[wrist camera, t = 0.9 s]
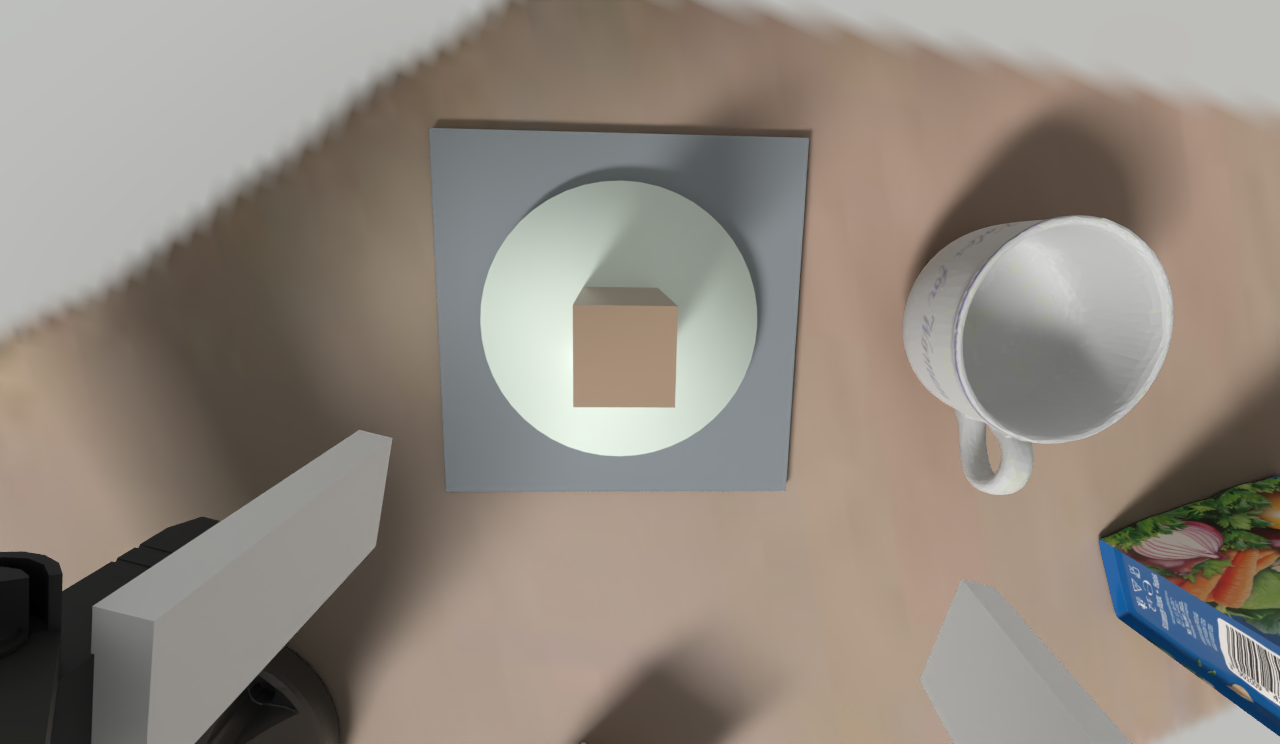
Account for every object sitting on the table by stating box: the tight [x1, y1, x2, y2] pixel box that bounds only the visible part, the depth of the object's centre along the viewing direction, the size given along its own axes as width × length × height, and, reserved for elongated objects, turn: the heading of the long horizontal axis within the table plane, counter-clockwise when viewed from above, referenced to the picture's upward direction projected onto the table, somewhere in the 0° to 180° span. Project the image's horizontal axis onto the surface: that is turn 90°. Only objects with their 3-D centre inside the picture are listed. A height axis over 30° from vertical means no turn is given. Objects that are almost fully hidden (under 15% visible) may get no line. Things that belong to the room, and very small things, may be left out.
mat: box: [429, 128, 809, 492], centre depth 35 cm, size 20×20×1 cm
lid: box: [480, 180, 757, 456], centre depth 30 cm, size 15×15×11 cm
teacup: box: [903, 215, 1173, 495], centre depth 33 cm, size 14×11×8 cm
